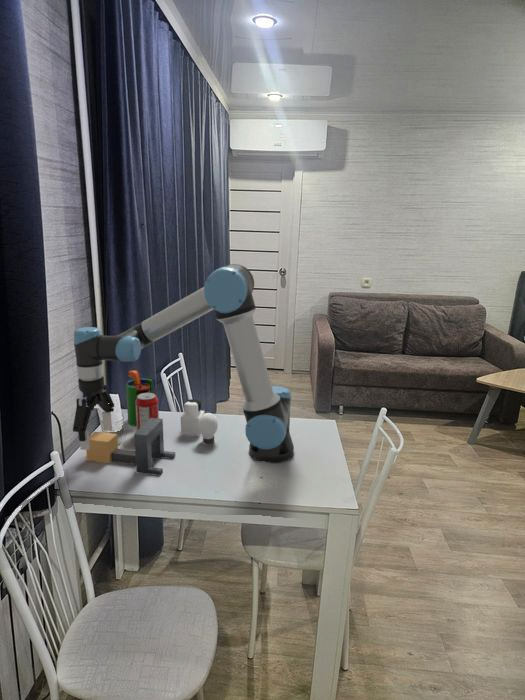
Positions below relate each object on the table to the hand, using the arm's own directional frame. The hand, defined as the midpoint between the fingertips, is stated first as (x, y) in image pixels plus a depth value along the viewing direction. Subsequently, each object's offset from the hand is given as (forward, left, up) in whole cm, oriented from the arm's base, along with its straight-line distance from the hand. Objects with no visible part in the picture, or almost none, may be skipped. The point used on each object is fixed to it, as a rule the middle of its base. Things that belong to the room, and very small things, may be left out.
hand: (97, 439), depth 143 cm
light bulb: (-32, -18, -6) cm, 37 cm away
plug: (-6, 0, -6) cm, 9 cm away
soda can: (-9, -19, -6) cm, 22 cm away
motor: (-1, -29, -7) cm, 30 cm away
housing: (-20, 0, -6) cm, 21 cm away
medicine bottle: (-24, -25, -7) cm, 35 cm away
